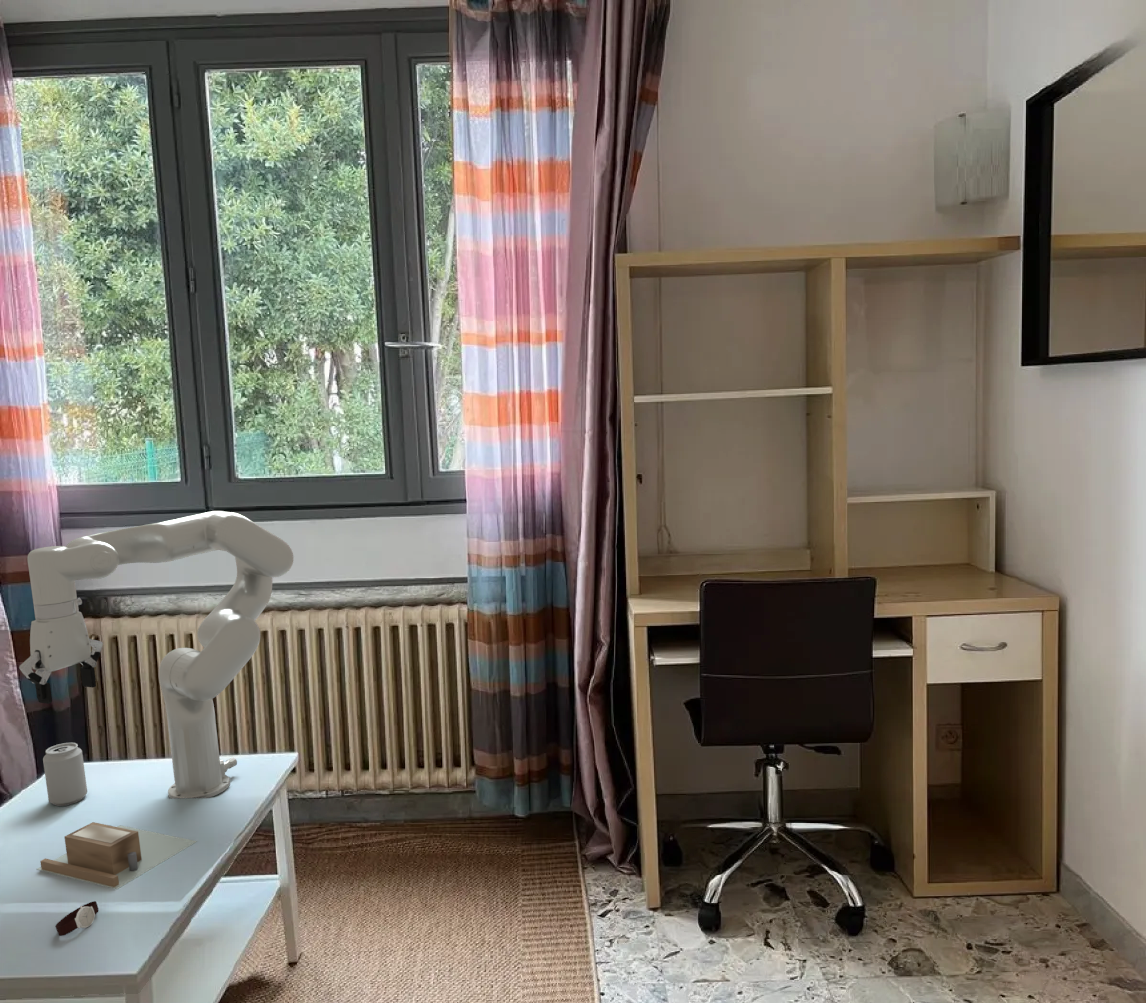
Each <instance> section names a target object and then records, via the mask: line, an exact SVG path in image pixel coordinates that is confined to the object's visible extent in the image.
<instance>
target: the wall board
mask: <svg viewBox="0 0 1146 1003" xmlns="http://www.w3.org/2000/svg"><path fill="white" fill-rule="evenodd" d="M116 827H119V828H124V829H129V830H134V831H138V834H139V842H140V850H141V858H142V860H140V861H139V862H137V856H136V852H131V853H129V854H128V862H129V867H128V868H126V869H125V870H123V871H121V872H120V873H118V874H116V875H113V874H109V873H104V872H100V871H96V870H92V869H88V868H84V867H79V866H75V865H71V864H68V859H67V852H66V853H65V854H63V855H61V856H58V857H57V858H55V859H51V858H50V859H49V858H43V859H41V860H40V867H38V868H36V871H40V872H45V873H48V874H53V875H58V876H61V877H64V878H65V877H66V878H70V879H74V880H78V881H82V882H86V883H89V884H94V885H98V886H102V887H106V888H111V889H114V890H119V889H120V888H121V887H123V886H124V885H127V884H128V883H130V882H133V881H134V880H135V879H137V878H138V877H140V876H142V875H143V874H145V873H147V872H148V871H150V870H151V869H155V867H156V866H158V865H160V864H161V863H163V862H165V861H167V860H168V859H170V858H172V857H174V856H175V855H177V854H179V853H180V852H182V851H184V850H185V849H187V848H189V847H190V846H192V845H194V844H196V843H197V842H198V840H193V839H189V838H188V839H187V838H183V837H179V836H178V837H177V836H172V835H169V834H164V833H159V832H154V831H149V830H143V829H140V828H135V827H130V826H125V825H117V826H116Z"/></svg>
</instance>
